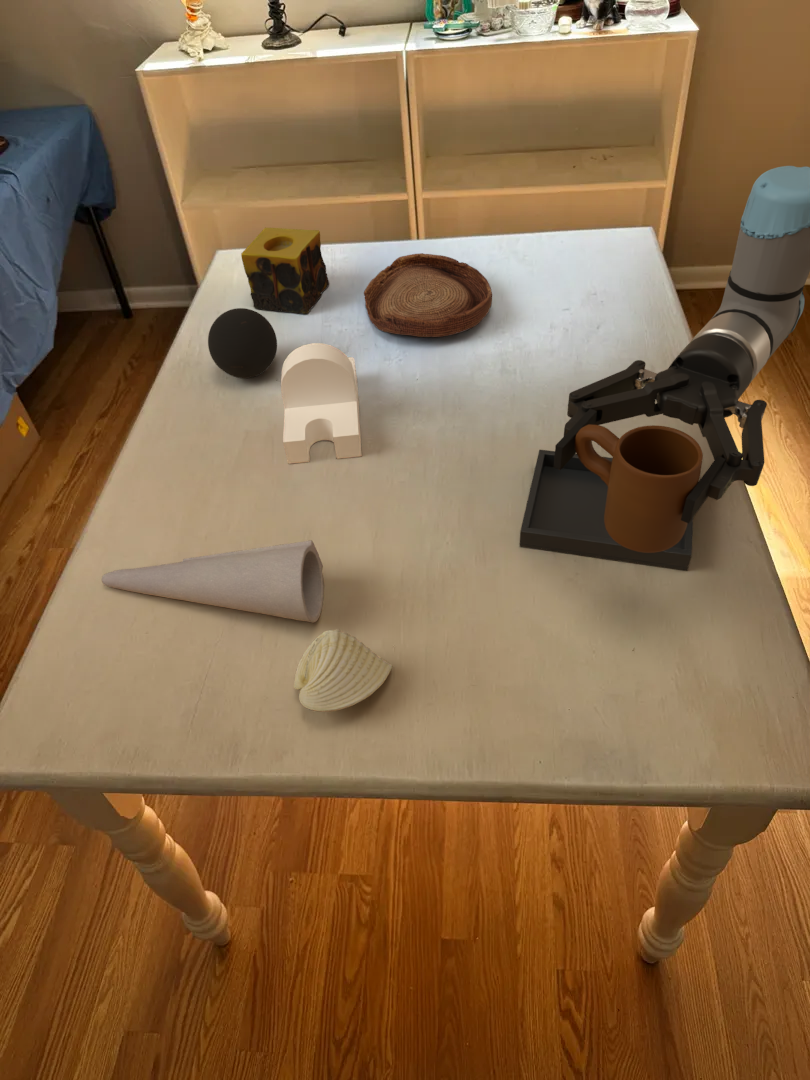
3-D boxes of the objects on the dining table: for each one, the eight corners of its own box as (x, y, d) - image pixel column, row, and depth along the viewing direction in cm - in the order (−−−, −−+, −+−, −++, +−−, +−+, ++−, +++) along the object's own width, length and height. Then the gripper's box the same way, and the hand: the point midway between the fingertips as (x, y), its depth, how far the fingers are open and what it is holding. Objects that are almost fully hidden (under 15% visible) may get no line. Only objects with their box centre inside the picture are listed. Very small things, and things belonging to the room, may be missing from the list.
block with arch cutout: (361, 456, 104) (351, 387, 96) (288, 464, 104) (272, 395, 96) (357, 378, 116) (348, 311, 108) (291, 384, 116) (277, 318, 108)
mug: (548, 513, 77) (554, 436, 70) (590, 473, 81) (600, 397, 74) (659, 568, 71) (677, 490, 64) (699, 522, 75) (720, 444, 68)
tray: (687, 571, 86) (691, 555, 85) (519, 546, 91) (520, 531, 89) (690, 483, 96) (694, 467, 94) (538, 464, 100) (539, 449, 98)
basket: (347, 295, 133) (343, 268, 129) (454, 266, 137) (453, 238, 134) (397, 362, 118) (395, 333, 115) (515, 326, 123) (516, 298, 119)
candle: (330, 285, 136) (322, 229, 129) (308, 316, 129) (298, 258, 122) (277, 280, 138) (265, 225, 131) (252, 310, 132) (239, 253, 125)
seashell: (272, 661, 79) (325, 604, 79) (332, 702, 83) (383, 648, 83) (286, 705, 72) (344, 642, 72) (350, 747, 76) (406, 688, 76)
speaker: (204, 374, 120) (186, 315, 112) (257, 346, 124) (243, 288, 117) (242, 399, 114) (226, 340, 107) (295, 369, 119) (283, 310, 112)
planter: (62, 611, 83) (296, 592, 78) (89, 550, 89) (308, 529, 84) (97, 653, 88) (317, 637, 84) (120, 592, 94) (327, 575, 90)
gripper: (827, 433, 79) (743, 567, 68) (607, 360, 90) (505, 465, 79) (853, 370, 73) (766, 505, 62) (616, 301, 84) (506, 405, 73)
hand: (620, 483), depth 70 cm, fingers closed on mug, 12 cm apart
